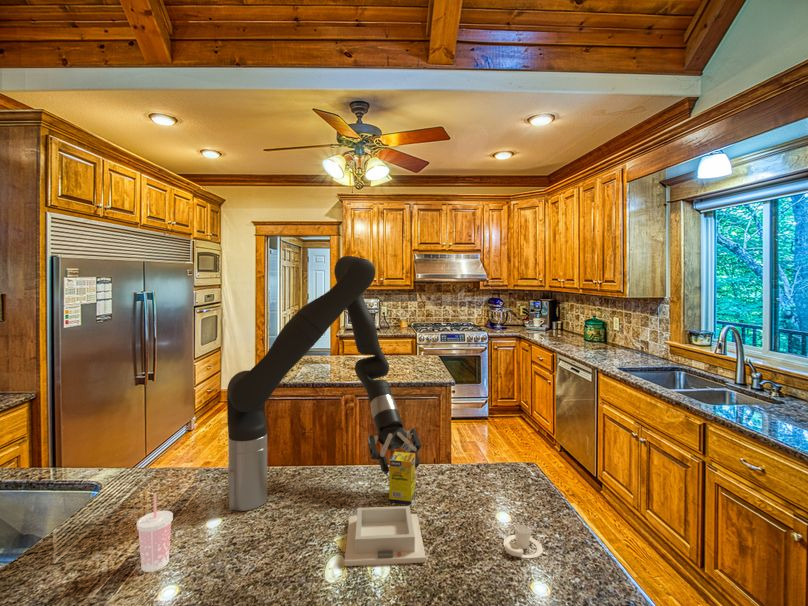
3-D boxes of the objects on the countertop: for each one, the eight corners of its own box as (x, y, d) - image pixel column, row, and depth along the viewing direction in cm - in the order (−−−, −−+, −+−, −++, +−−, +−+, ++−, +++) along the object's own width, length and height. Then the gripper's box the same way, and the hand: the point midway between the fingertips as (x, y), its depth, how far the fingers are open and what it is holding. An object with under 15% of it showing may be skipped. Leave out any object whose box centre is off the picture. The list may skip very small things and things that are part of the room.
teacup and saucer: (512, 564, 80) (512, 543, 80) (493, 540, 88) (493, 522, 87) (550, 556, 82) (550, 537, 82) (528, 534, 90) (529, 516, 90)
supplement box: (411, 504, 102) (411, 461, 101) (388, 502, 103) (388, 459, 103) (415, 493, 107) (415, 452, 107) (393, 491, 109) (393, 451, 108)
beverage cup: (176, 551, 83) (176, 484, 83) (169, 570, 77) (168, 498, 77) (142, 557, 81) (141, 488, 81) (132, 577, 75) (131, 503, 75)
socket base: (344, 566, 78) (344, 545, 78) (349, 520, 94) (349, 503, 94) (425, 562, 80) (425, 542, 80) (417, 517, 96) (417, 501, 95)
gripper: (365, 410, 110) (380, 468, 100) (412, 405, 116) (430, 458, 106) (359, 424, 115) (373, 480, 105) (404, 418, 121) (421, 470, 111)
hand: (402, 469), depth 106 cm, fingers open, 8 cm apart
